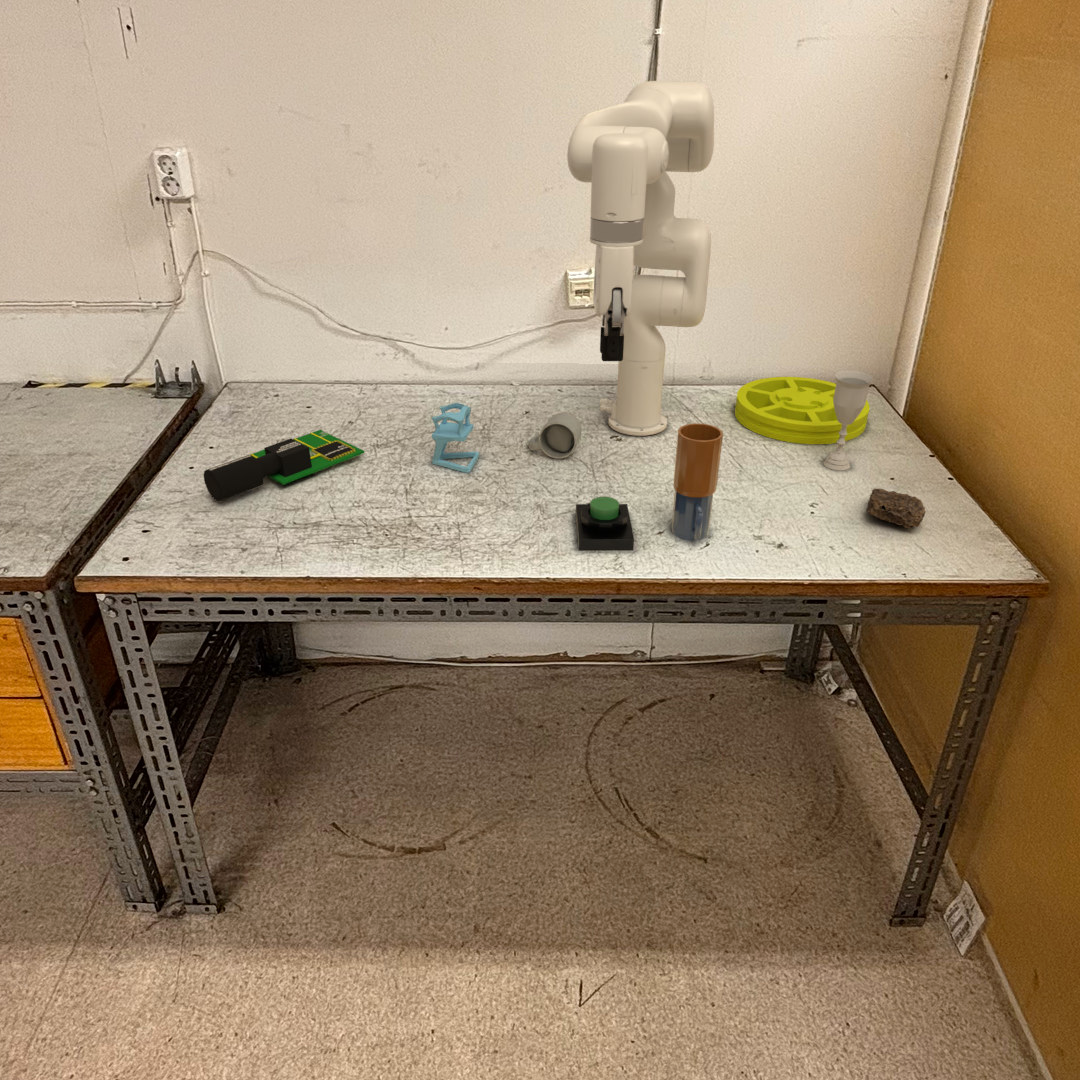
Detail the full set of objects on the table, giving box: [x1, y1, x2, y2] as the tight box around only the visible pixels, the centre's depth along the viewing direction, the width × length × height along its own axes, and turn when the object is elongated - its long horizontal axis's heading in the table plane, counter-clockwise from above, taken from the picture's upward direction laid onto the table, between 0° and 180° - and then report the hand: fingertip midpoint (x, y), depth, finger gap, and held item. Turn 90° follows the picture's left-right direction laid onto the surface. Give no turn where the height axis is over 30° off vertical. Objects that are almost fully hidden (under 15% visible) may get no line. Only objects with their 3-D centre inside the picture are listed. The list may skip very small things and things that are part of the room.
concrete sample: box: [866, 488, 926, 529], centre depth 150 cm, size 12×10×5 cm
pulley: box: [734, 376, 870, 445], centre depth 188 cm, size 28×28×5 cm
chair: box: [431, 402, 480, 474], centre depth 167 cm, size 8×8×12 cm
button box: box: [575, 502, 635, 552], centre depth 146 cm, size 12×9×4 cm
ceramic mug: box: [527, 411, 583, 460], centre depth 173 cm, size 11×8×8 cm
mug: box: [671, 490, 714, 542], centre depth 144 cm, size 9×6×8 cm
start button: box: [589, 496, 620, 520], centre depth 145 cm, size 5×5×2 cm
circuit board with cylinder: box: [203, 429, 365, 503], centre depth 165 cm, size 30×7×15 cm
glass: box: [673, 422, 724, 498], centre depth 140 cm, size 7×7×10 cm
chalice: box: [823, 369, 874, 471], centre depth 165 cm, size 7×7×18 cm
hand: (611, 355), depth 131 cm, fingers closed
